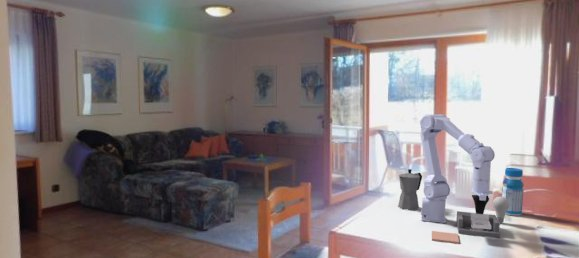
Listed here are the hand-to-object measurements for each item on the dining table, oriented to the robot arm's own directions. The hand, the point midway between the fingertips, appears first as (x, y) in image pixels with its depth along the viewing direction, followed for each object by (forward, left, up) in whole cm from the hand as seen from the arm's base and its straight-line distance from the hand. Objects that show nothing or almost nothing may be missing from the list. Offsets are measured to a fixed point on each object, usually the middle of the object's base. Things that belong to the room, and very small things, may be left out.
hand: (479, 215), depth 152 cm
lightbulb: (+10, +18, -8) cm, 22 cm away
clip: (0, -5, -2) cm, 5 cm away
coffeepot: (-26, +29, -8) cm, 40 cm away
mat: (-12, -9, -7) cm, 17 cm away
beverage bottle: (+17, +35, -8) cm, 40 cm away
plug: (0, +3, -8) cm, 8 cm away
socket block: (0, +5, -7) cm, 9 cm away
